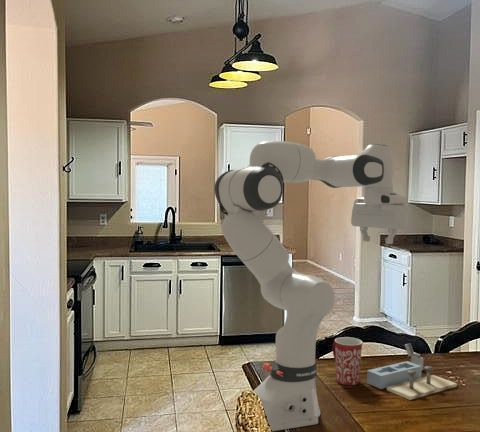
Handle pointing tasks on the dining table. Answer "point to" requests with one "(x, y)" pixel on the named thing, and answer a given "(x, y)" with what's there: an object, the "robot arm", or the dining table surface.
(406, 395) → the boss board
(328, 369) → the dining table surface
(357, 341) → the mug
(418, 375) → the two-hole block
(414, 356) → the lighter
